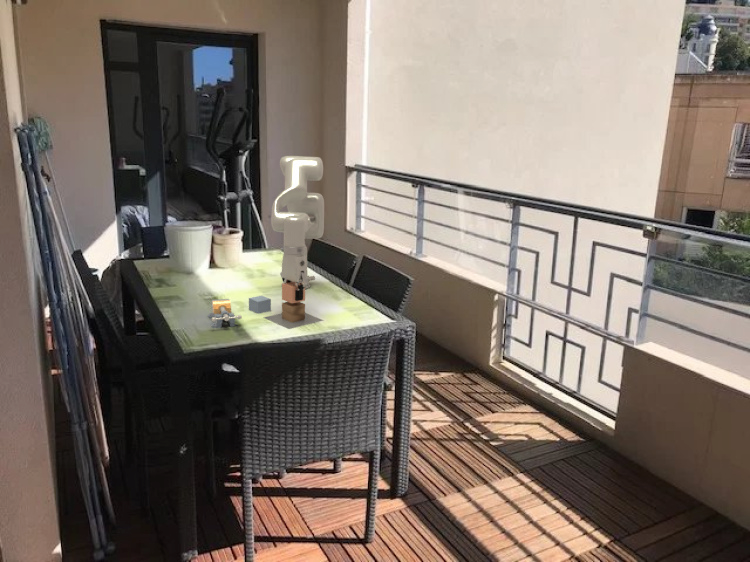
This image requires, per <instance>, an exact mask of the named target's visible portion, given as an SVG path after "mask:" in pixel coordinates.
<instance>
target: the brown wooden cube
mask: <svg viewBox="0 0 750 562" xmlns="http://www.w3.org/2000/svg"><path fill="white" fill-rule="evenodd" d="M281 313H282V319H285V320H287V321H289V322H296V321H300V320H304V319H305V313H306V303H304V302H302V301H301V302H296V303H289V302H287V301H285V302H282V303H281Z"/></svg>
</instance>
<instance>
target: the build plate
mask: <svg viewBox="0 0 750 562" xmlns="http://www.w3.org/2000/svg"><path fill="white" fill-rule="evenodd" d="M263 319H265V320H268V321H270V322H272V323H275V324H277V326H281V327H284V328H286V329H288V330H291V329H295V328H299V327H305V326H307V325H311V324H315V323H318V322H319V323H320V322H323V321H324V319H321V318H319V317H317V316H315V315H312V314H308V313H307V312H305V319H304V320H300V321H296V322H289V321H287V320H285V319H282V312H281V313H278V314H272V315H267V316H264V317H263Z"/></svg>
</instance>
